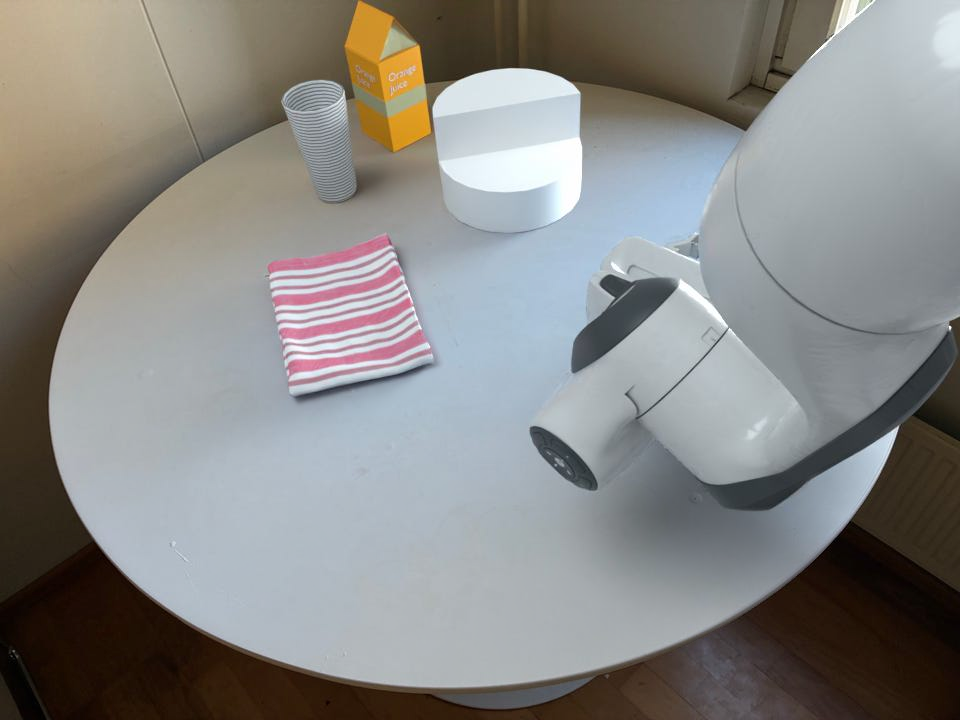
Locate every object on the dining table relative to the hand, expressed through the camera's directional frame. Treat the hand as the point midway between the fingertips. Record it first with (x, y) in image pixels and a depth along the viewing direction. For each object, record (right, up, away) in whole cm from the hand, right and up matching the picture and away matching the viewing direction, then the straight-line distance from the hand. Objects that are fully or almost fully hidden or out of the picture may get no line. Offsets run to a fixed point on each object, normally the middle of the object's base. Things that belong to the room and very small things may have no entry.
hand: (744, 258), depth 73 cm
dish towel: (-42, -5, +22) cm, 48 cm away
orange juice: (-39, +27, +50) cm, 69 cm away
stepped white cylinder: (-21, +15, +38) cm, 46 cm away
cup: (-47, +15, +41) cm, 64 cm away
